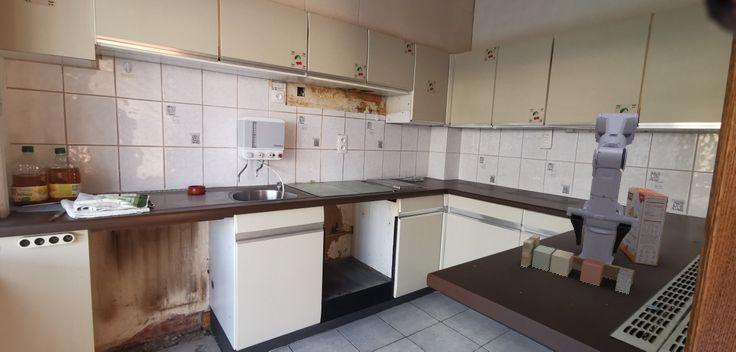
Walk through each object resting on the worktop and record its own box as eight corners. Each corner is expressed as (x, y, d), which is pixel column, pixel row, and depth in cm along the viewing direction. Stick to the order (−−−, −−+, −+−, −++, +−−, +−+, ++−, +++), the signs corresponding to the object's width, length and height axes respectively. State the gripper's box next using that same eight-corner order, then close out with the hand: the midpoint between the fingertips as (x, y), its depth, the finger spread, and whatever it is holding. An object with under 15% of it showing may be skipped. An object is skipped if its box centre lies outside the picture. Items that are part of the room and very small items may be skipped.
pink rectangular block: (584, 274, 89) (586, 256, 88) (602, 279, 86) (605, 261, 85) (579, 281, 84) (582, 262, 84) (598, 287, 82) (601, 267, 81)
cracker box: (618, 248, 111) (627, 186, 108) (640, 251, 109) (651, 188, 106) (632, 263, 98) (643, 193, 95) (657, 267, 96) (670, 196, 93)
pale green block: (537, 261, 96) (539, 245, 96) (553, 265, 94) (555, 248, 93) (531, 267, 92) (533, 250, 91) (547, 271, 89) (549, 254, 89)
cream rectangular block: (555, 266, 94) (557, 249, 93) (571, 270, 91) (573, 253, 90) (549, 272, 89) (552, 254, 88) (566, 277, 86) (569, 259, 86)
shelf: (532, 256, 100) (534, 234, 99) (632, 283, 84) (636, 257, 83) (520, 266, 92) (523, 242, 91) (629, 298, 76) (633, 269, 75)
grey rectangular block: (617, 283, 84) (620, 268, 84) (630, 286, 83) (632, 271, 82) (615, 291, 80) (617, 275, 79) (628, 295, 78) (630, 279, 78)
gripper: (566, 193, 84) (560, 244, 86) (640, 203, 75) (631, 261, 77) (572, 189, 89) (566, 238, 91) (642, 199, 80) (633, 253, 82)
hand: (596, 248), depth 84 cm, fingers open, 7 cm apart
